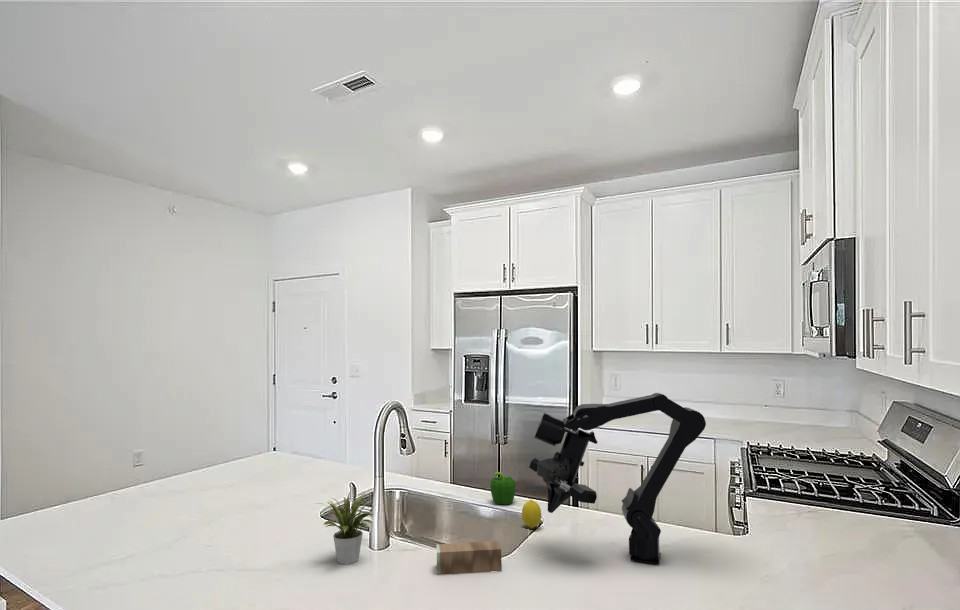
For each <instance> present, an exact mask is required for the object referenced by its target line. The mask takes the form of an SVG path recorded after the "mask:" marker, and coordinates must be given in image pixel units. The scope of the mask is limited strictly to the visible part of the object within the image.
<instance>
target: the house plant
mask: <svg viewBox="0 0 960 610" xmlns="http://www.w3.org/2000/svg"><path fill="white" fill-rule="evenodd" d="M350 495H351V491H349V492H348V495H347V498H346V497H345V496H343V505H344V508H343V507H341V505H340V503H339V501H338V500H337V499H335V498H332V497H331V498H330V499H332V500H334V501H335V502H337V504H338V506H339V507H337V506H336V505H335V504H334V503H333V501H332V500H327V504H328V505H330V506H331V507H330V506H328V505H326V504H324V503H322V502H321V503H320V502H319V503H318V502H317V503H314V504H316V505H318V504H320V505H325V506H326V507H328V508H329V509H330V510H331V511H332V512H331V514H332V513H333V515H335V517H336V519H337V522H338V524H339V525H337V524H336V523H335V522H334V521H332V520H326V521H325V522H323V524H322V525H326V526H325V528H327V527H336V528H338V531H336V532H334V534H333V541H334V549H335V554H336V560H337V563H338V564H340V565H351V564H355V563H357V562H358V561H359V559H360V552H361V548H362V547H361V546H362V540H363V534H364V533H363V530H361V529H358V528H359V527H360V526H361V527H366V528H367V529H368V524H367V523H370V524H372V526H374V525H373V521H372V520H370V519H364V518H366V517H368V516H371V515H372V516H375V514H374V513H370V512H365V511H362V512H361V510H362V509H364V508H366V507H365V506H366V505H368V504H369V503H370V502H372V501H373V500H371V499H370V500H368V501H367V502H366V503H364V505H362V506H361V507H360V505H361V504H362V501H363V497H364V496H365V495H366V493H363V494H361V495H360V496H358V497H357V498H356V499H355V500H354V502H353V503H352V504H351V507H350ZM349 508H350V509H349Z"/></svg>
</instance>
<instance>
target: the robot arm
mask: <svg viewBox="0 0 960 610" xmlns="http://www.w3.org/2000/svg"><path fill="white" fill-rule="evenodd" d="M656 411H657V412H658V411H660V412H661V413H663V414H665V415H666V416H667V417H669V418H671V419H672V420H671V424H670V427H669V433H668V437H667V439H666V441H665V443H664V445H663V446H662V448H661V449H660V451H659V453H658V455H657V457H656V459H655V460H654V462H653V463H652V465H651V467H650V469H649V471H648V472H647V474H646V476H645V477H644V479H643V481H642V483H641V485H639V486H638V487H637V488H636V489H633V488H631V487H629V488H628V490H627V492H626V495H625V497H624V498H623V499H621V502H622V505H621V512H622V515H623V518H625V521H626V523H627V524H628V525H629V527H631V528H632V529H631V531H630V535H629V536H628V552H629V553H628V555H629V556H630V561H631V562H638V563H643V564H651V565H659V564H660V560H661V556H662V554H661V552H660V534H661V532H662V530H661V528H660V527H659V525H658V524H657V522H656V520H654V518H653V515H654V512H655V508H656V503H657V499H658V496H659V495H660V493H661V491H662V489H663V487H665V484H666V482H667V480H668V479H669V477H670V475H671V474H672V471H674V468H675V467H676V464H677V463H678V461H679V459H680V458H681V457H682V454H683V453H684V451H685V449H686V448H687V447H688V446H690V444H692V443H693V442H695V441H696V440H697V438H699V437H700V435H701V434H702V433H703V431H704V430H705V429H706V426H707V422H706V419H705V417H704V415H703V414H702V413H701V412H700V411H698V410H695V409H693V408H690V407H684V406H682V405H680V404H679V403H677V402H675V401H674V400H671V399H670V398H668V396H667V395H665V394H664V393H660V392H654V393H652V394H648V395H644V396H639V397H634V398H630V399H625V400H620V401H616V402H611V403H582V404H579V405H577V406H576V407H575V408H574V410H573V412H572V413H571V414H570V415H568V416H567V417H565V418H563V419H562V420H561V419H559V418H557V417H554V416H552V415H550V414H549V413H546V412H543V414H542V416H541V418H540V421H539V422H538V423H537V425H536V430H535V432H534V435H533V438H534V439H536V440H539V441H540V442H543V443H546V444H549V445H551V446H553V447H556V445H561V443H562V442H563V443H562V445H561V447H560V450H559V451H556V452H555V453H554V454H553V457H551V458H545V459H543V458H537V457H534V458H533V459H532V460H531V461H530V462H529V466H528V468H529V469H531V470H532V471H534V472H535V473H536V474H537V476H538V477H541V478H542V480H543V482H544V483H545V484H546V487H547V512H548V513H549V514H550V513H551V514H553V512H555V511H557V509H558V508H559V507H560V506H562V504H563V503H564V502H566V500H568V499H569V498H570V497H572V498H573V499H575V500H576V501H578V502H580V503H584V504H593V505H594V504H595V503H596V500H597V498H598V495H597V491H596V490H594V489H593V488H591V487H590V486H588V485H587V484H582V483H581V484H580V483H576V482H578V481H579V476H577V474H578V471H579V470H580V467H584V464H585V462H584V461H583V458H584V456H585V453H586V450H587V447H588V446H589V442H590V443H592V444H596V445H597V444H598V440H597V438H596V435H595V432H594V431H593V430H594V429H596V428H598V427H601V426H604V425H605V424H607V423H609V422H611V421H615V420H619V419H622V418H628V417H632V416H638V415H643V414H648V413H652V412H656ZM575 430H576V431H575ZM588 431H589V432H588ZM564 436H565V437H564ZM563 439H564V440H563Z"/></svg>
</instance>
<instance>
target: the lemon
mask: <svg viewBox="0 0 960 610" xmlns="http://www.w3.org/2000/svg"><path fill="white" fill-rule="evenodd" d="M521 519H522V521H523V523H524V525H526V526H527V527H528V528H530V529H532V530H533V529H534V528H535V527H537V526H538V525H539V524H540V522H541V519H542V509H541V507H540V504H539V503H538V502H536V501H534V500H533V499H529V501H526V502H525V503H524V504H523V506H522V509H521Z"/></svg>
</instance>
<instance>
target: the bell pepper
mask: <svg viewBox="0 0 960 610" xmlns="http://www.w3.org/2000/svg"><path fill="white" fill-rule="evenodd" d="M494 474H495V476H498V477H493V478H491V480H490V493H491V497H492V500H493V502H494V503H495V504H496V505H497V504H498V505H505V506H506V505H511V504H513V501H514V499H515V497H516V496H515V495H516V490H517V482H516V480H515V479H513V478H512V476H507V477H505V476H504V474H503V473H502V472H500V471H497V472H494Z"/></svg>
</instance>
